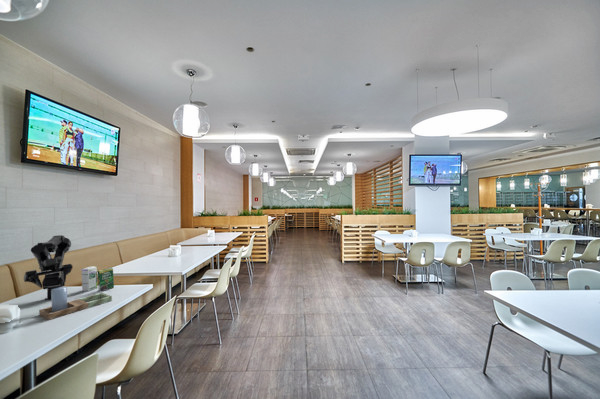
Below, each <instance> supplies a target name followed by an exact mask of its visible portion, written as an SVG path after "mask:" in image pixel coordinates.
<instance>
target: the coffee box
mask: <svg viewBox="0 0 600 399" xmlns="http://www.w3.org/2000/svg"><path fill="white" fill-rule="evenodd" d="M114 282H115V278H114V268H113V267H110V268H106V269H102V270H101V269H100V270H97V287H98V288H97V289H98V291H99V292H103V291H106V290H110V289H114V287H115V283H114Z"/></svg>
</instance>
